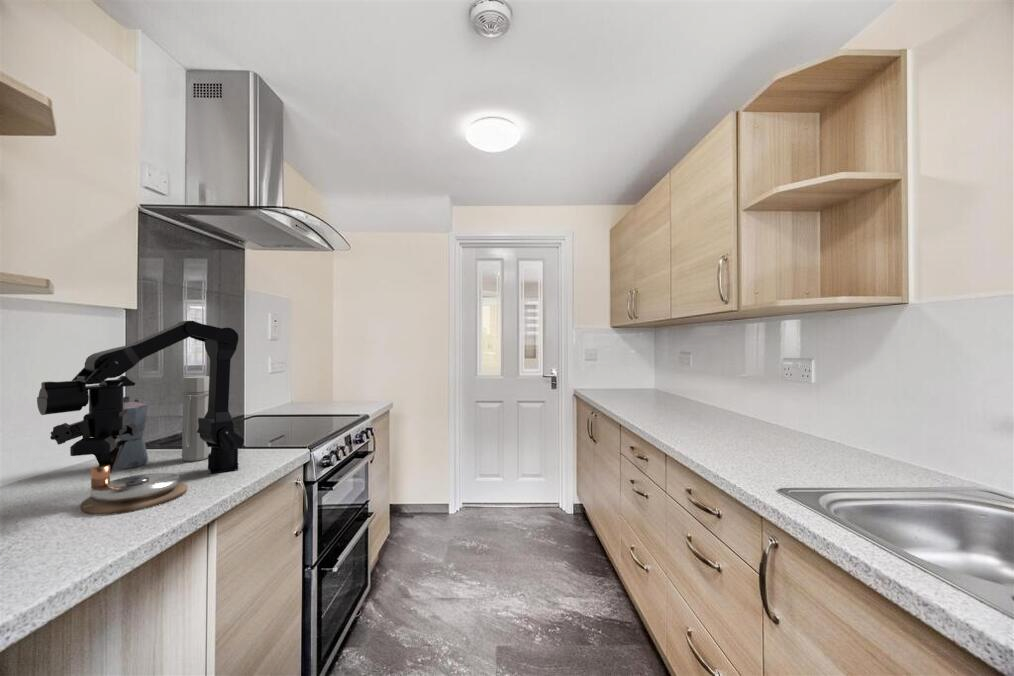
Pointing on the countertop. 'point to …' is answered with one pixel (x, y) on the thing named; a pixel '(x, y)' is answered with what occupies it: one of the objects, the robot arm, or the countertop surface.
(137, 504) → the wheel base
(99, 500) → the handwheel
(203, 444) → the water bottle
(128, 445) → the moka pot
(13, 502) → the countertop surface
